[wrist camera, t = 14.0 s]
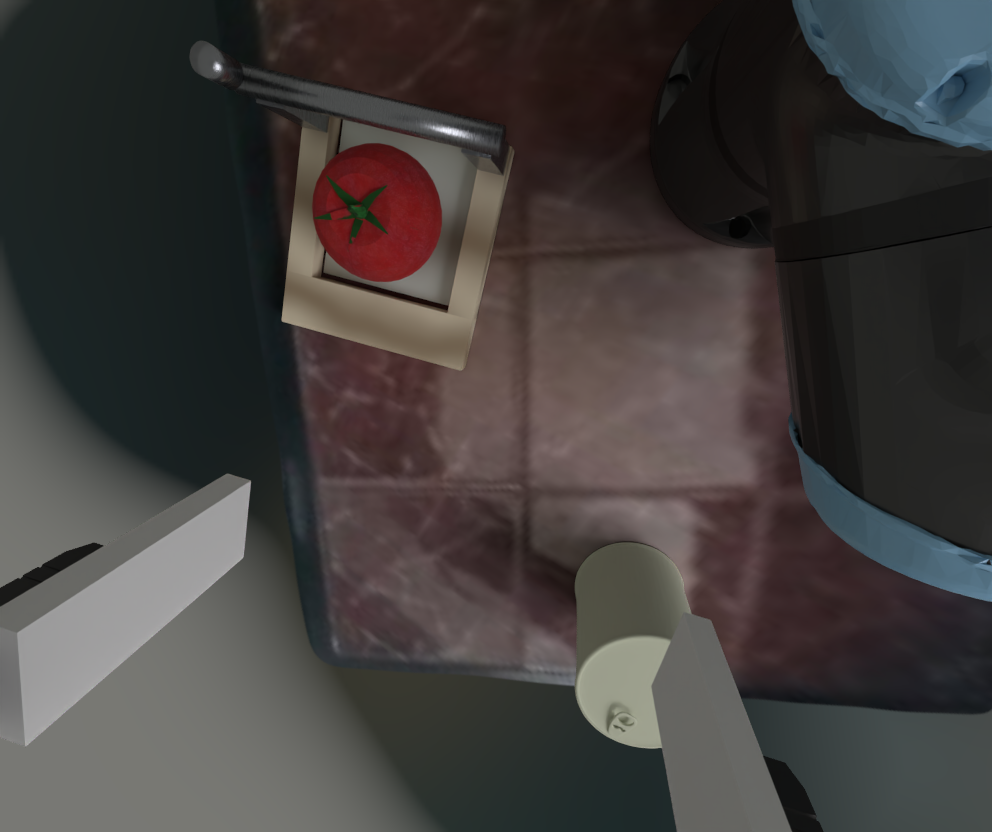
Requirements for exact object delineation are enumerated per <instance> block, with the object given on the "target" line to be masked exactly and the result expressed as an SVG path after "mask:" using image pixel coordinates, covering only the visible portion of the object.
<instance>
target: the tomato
mask: <svg viewBox="0 0 992 832" xmlns="http://www.w3.org/2000/svg"><path fill="white" fill-rule="evenodd" d="M312 213H313V221H314V225H315V229H316V233H317V235H318V237H319V239H320V242H321V244H322V245H323V247H324V248H325V250H326V251H327V253H328V254H329V255H330V257H331V258H332V259H333V260H334V261H335V262H336V263H337V264H339V265H340V266H341V267H342V268H344V269H345V270H347V271H348V272H349V273H351V274H353V275H355V276H357V277H359V278H362V279H365V280H369V281H374V282H392V281H397V280H401V279H403V278H405V277H408V276H410V275H412V274H413V273H414V272H416V271H417V270H419V269H420V268H421V267H422V266H423V265H424V264H425V263H426V262H427V260H428V259H429V258H430V256H431V255H432V253H433V251H434V250H435V248H436V246H437V243H438V240H439V237H440V233H441V227H442V208H441V203H440V198H439V194H438V191H437V189H436V186H435V184H434V182H433V180H432V178H431V177H430V175H429V173H428V172H427V170H426V169H425V168H424V167H423V166H422V165H421V164H420V163H419V162H418V160H416V159H415V158H413V157H412V156H411V155H409V154H408V153H407V152H404V151H402V150H400V149H398V148H396V147H393V146H391V145H386V144H381V143H366V144H362V145H358V146H354V147H350V148H348V149H346V150H344V151H342V152H340V153H338V154H337V155H336V156H335V157H334V158H332V159H331V160H330V161H329V162H328V164H327V165H326V166H325V168H324V169H323V170H322V172H321V174H320V176H319V178H318V180H317V182H316V186H315V189H314V193H313V202H312Z"/></svg>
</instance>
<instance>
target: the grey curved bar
mask: <svg viewBox="0 0 992 832" xmlns="http://www.w3.org/2000/svg"><path fill="white" fill-rule="evenodd" d="M190 62H191V65H192V67H193V69H194V70H195V71H196V72H197V73H198V74H200V75H202V76H204V77H206V78H208V79H210V80H212V81H213V82H215V83H217V84H219V85H221V86H223V87H225V88H227V89H229V90H235V92H236V93H237V94H239V95H243V96H248V97H252V98H256V103H258V104H260V105H262V106H264V107H265V108H267V109H269V110H271V111H273V112H275V113H277V114H279V115H281V116H283V117H285V118H287V119H289V120H291V121H292V122H294V123H296V124H298V125H300V126H302V127H305V128H309V129H313V130H317V131H321V132H325V133H327V131H328V122H329V116H331V117H335V118H339V119H343V120H347V121H351V122H355V123H360V124H364V125H368V126H372V127H376V128H380V129H384V130H389V131H393V132H397V133H401V134H405V135H409V136H413V137H418V138H422V139H426V140H430V141H434V142H438V143H442V144H447V145H451V146H455V147H459V148H462V150H461V153H462V154H463V155H464V156H465V157H466V158H467V159H468V160H469V161H470V162H471V163H472V164H473V165H474V166H475V167H476V168H477V169H478V170H481V171H485V172H489V173H493V174H497V175H501V176H504V172H505V168H506V163H507V159H508V155H509V150H510V147H509V145H508V143H507V141H506V139H505V137H506V126H505V125H501V124H497V123H493V122H489V121H484V120H480V119H476V118H472V117H467V116H463V115H459V114H455V113H450V112H446V111H442V110H438V109H433V108H429V107H425V106H421V105H417V104H412V103H408V102H404V101H400V100H395V99H391V98H387V97H383V96H378V95H374V94H370V93H366V92H361V91H357V90H353V89H349V88H344V87H340V86H336V85H332V84H328V83H323V82H319V81H315V80H311V79H306V78H302V77H298V76H294V75H289V74H285V73H281V72H277V71H272V70H268V69H264V68H260V67H255V66H251V65H247V64H243V63H239V62H238V61H237V60H236V59H234V58H232V57H231V56H229V55H227V54H226V53H224V52H223V51H221V50H219V49H218V48H216V47H214V46H213V45H211V44H209V43H208V42H205V41H198V42H196V43H195V44H194V45H193V46H192V48H191V50H190Z"/></svg>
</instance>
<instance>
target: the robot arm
mask: <svg viewBox="0 0 992 832" xmlns="http://www.w3.org/2000/svg"><path fill="white" fill-rule="evenodd" d="M650 155H651V162H652V167H653V171H654V175H655V178H656V181H657V184H658V186H659V189H660V191H661V193H662V195H663V197H664V199H665V200H666V202H667V204H668V205H669V207H670V208H671V209H672V211H673V212H674V213H675V214H676V215H677V217H678V218H679V219H680V220H681V221H682V222H683V223H685V224H686V225H687V226H688V227H689V228H691V229H692V230H694V231H695V232H696V233H698V234H700V235H702V236H703V237H705V238H707V239H710V240H712V241H715V242H717V243H720V244H724V245H727V246H732V247H739V248H767V247H774V248H775V256H776V260H775V268H776V277H777V286H778V295H779V304H780V313H781V322H782V331H783V340H784V349H785V358H786V367H787V376H788V385H789V394H790V403H791V414H790V416H789V419H788V421H789V432H790V435H791V439H792V442H793V444H794V446H795V447H796V449H797V451H798V455H799V461H800V467H801V473H802V479H803V485H804V489H805V492H806V495H807V497H808V499H809V501H810V503H811V504H812V506H813V507H814V508H815V509H816V511H817V512H818V514H819V515H820V517H821V519H822V520H823V521H824V522H825V523H826V524H827V526H828V527H829V528H830V529H831V530H832V531H833V532H834V533H836V534H837V535H838V536H839V537H840V538H842V539H843V540H844V541H845V542H847V543H848V544H849V545H851V546H852V547H853V548H855V549H856V550H858V551H860V552H861V553H863V554H864V555H866V556H868V557H869V558H871V559H873V560H875V561H877V562H879V563H880V564H882V565H884V566H886V567H888V568H891V569H893V570H895V571H897V572H900V573H902V574H904V575H907V576H909V577H911V578H914V579H917V580H919V581H922V582H924V583H927V584H930V585H933V586H935V587H938V588H941V589H945V590H948V591H951V592H954V593H958V594H962V595H965V596H969V597H973V598H977V599H981V600H986V601H991V602H992V0H723V1H722V2H721V3H720V4H718V5H717V6H716V7H715V8H714V9H713V10H712V11H711V12H710V13H708V14H707V15H706V16H705V17H704V19H703V20H702V21H701V22H700V23H699V24H698V25H697V26H696V27H695V28H694V30H693V31H692V32H691V33H690V35H689V36H688V37H687V39H686V40H685V41H684V43H683V44H682V46H681V47H680V49H679V51H678V52H677V54H676V56H675V57H674V59H673V61H672V63H671V65H670V67H669V69H668V71H667V74H666V76H665V78H664V80H663V82H662V85H661V87H660V90H659V92H658V95H657V98H656V101H655V105H654V109H653V114H652V119H651V127H650ZM250 484H251V481H250V480H247V479H243V478H240V477H237V476H234V475H230V474H226V475H224V476H222V477H221V478H219V479H218V480H216V481H214V482H212V483H211V484H209V485H207V486H206V487H204V488H202V489H200V490H199V491H197V492H195V493H193V494H192V495H190V496H188V497H187V498H185V499H183V500H182V501H180V502H178V503H176V504H175V505H173V506H172V507H170V508H168V509H166V510H165V511H163V512H161V513H159V514H158V515H156V516H154V517H153V518H151V519H149V520H147V521H146V522H144V523H142V524H141V525H139V526H137V527H136V528H134V529H132V530H130V531H129V532H127V533H125V534H124V535H122V536H120V537H119V538H117V539H115V540H113V541H112V542H110V543H108V544H107V545H105V546H103V545H100V544H97V543H91V544H88V545H85V546H82V547H79V548H75V549H72V550H69V551H66V552H64V553H62V554H61V555H59V556H57V557H55V558H54V559H52V560H50V561H48V562H46V563H44V564H43V565H42V567H41V568H39V567H37V568H35V569H33V570H32V571H30V572H28V573H26V574H24V575H23V577H22V578H21V579H19V578H17V579H15V580H14V581H12V582H10V583H8V584H6V585H5V586H3V587H1V588H0V738H2V739H5V740H8V741H11V742H14V743H16V744H19V745H22V746H27V745H28V744H29V743H30V742H31V741H33V740H34V739H35V738H36V737H37V736H38V735H39V734H41V733H42V732H43V731H44V730H45V729H46V728H48V727H49V726H50V725H51V724H52V723H53V722H54V721H55V720H57V719H58V718H59V717H60V716H61V715H62V714H64V712H66V711H67V710H68V709H69V708H71V707H72V706H73V705H74V704H75V703H76V702H77V701H79V700H80V699H81V698H82V697H83V696H84V695H85V694H87V693H88V692H89V691H90V690H91V689H92V688H94V687H95V686H96V685H97V684H98V683H99V682H101V681H102V680H103V679H104V678H105V677H106V676H107V675H108V674H110V673H111V672H112V671H113V670H114V669H116V668H117V667H118V666H119V665H120V664H121V663H122V662H124V661H125V660H126V659H127V658H128V657H129V656H131V654H133V653H134V652H135V651H136V650H137V649H139V648H140V647H141V646H142V645H143V644H144V643H146V642H147V641H148V640H149V639H150V638H151V637H152V636H154V635H155V634H156V633H157V632H158V631H159V630H160V629H162V628H163V627H164V626H165V625H166V624H167V623H168V622H170V621H171V620H172V619H173V618H174V617H176V616H177V615H178V614H179V613H180V612H181V611H182V610H184V609H185V608H186V607H187V606H188V605H189V604H190V603H191V602H193V601H194V600H195V599H196V598H197V597H199V596H200V595H201V594H202V593H203V592H204V591H205V590H207V589H208V588H209V587H210V586H211V585H212V584H214V583H215V582H216V581H217V580H218V579H219V578H220V577H222V576H223V575H224V574H225V573H226V572H227V571H229V570H230V569H231V568H232V567H233V566H234V565H235V564H237V563H238V562H239V561H240V560H241V559H242V558H243V557H244V547H245V535H246V526H247V516H248V505H249V494H250ZM651 688H652V694H653V699H654V705H655V711H656V716H657V722H658V727H659V733H660V738H661V744H662V749H663V755H664V761H665V766H666V771H667V778H668V783H669V789H670V794H671V799H672V806H673V811H674V817H675V822H676V827H677V832H823V830H822V827H821V825H820V823H819V822H818V821H817V820H816V814H815V811H814V809H813V807H812V805H811V802H810V800H809V798H808V796H807V793H806V791H805V789H804V787H803V786H802V785H801V784H800V782H799V781H798V780H797V778H796V777H795V776H794V774H793V773H792V771H791V770H790V769H789V767H788V766H787V765H786V763H784V762H781V761H778V760H775V759H772V758H768V757H765V756H763V755H762V753H761V750H760V747H759V745H758V742H757V739H756V737H755V735H754V732H753V729H752V726H751V724H750V721H749V719H748V716H747V713H746V711H745V708H744V705H743V703H742V700H741V698H740V695H739V692H738V690H737V687H736V685H735V682H734V679H733V677H732V674H731V672H730V669H729V666H728V664H727V661H726V658H725V656H724V653H723V651H722V648H721V645H720V643H719V640H718V638H717V635H716V632H715V630H714V627H713V624H712V622H711V620H709V619H706V618H702V617H699V616H696V615H692V614H689V613H686V612H683V615H682V617H681V619H680V621H679V624H678V626H677V628H676V631H675V633H674V635H673V637H672V640H671V642H670V644H669V647H668V649H667V651H666V654H665V656H664V658H663V660H662V663H661V665H660V667H659V670H658V672H657V674H656V676H655V679H654V681H653V683H652V686H651Z"/></svg>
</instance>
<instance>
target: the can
mask: <svg viewBox="0 0 992 832" xmlns="http://www.w3.org/2000/svg"><path fill="white" fill-rule="evenodd" d="M575 595H576V600H577V666H576V679H575V694H576V699H577V702H578V705H579V707H580V709H581V711H582V713H583V714H584V716H585V717H586V719H587V720H588V721H589V722H590V723H591V724H592V725H593V726H594V727H595V728H596V729H597V730H599V731H600V732H601V733H602V734H604V735H605V736H607V737H609V738H611V739H613V740H615V741H617V742H620V743H623V744H626V745H630V746H634V747H640V748H662V744H661V738H660V733H659V727H658V722H657V716H656V711H655V705H654V699H653V694H652V688H651V686H652V683H653V681H654V679H655V676H656V674H657V672H658V670H659V667H660V665H661V663H662V660H663V658H664V656H665V654H666V651H667V649H668V647H669V644H670V642H671V640H672V637H673V635H674V633H675V631H676V628H677V626H678V624H679V621H680V619H681V617H682V615H683V612H686V613H689V614H691V611H690V608H689V604H688V601H687V598H686V595H685V592H684V584H683V580H682V577H681V574H680V572H679V570H678V568H677V567H676V565H675V564H674V563H673V562H672V561H671V560H670V559H669V558H668V557H667V556H666V555H665V554H663V553H662V552H660V551H659V550H657V549H655V548H653V547H650V546H648V545H645V544H640V543H634V542H621V543H614V544H611V545H607V546H605V547H602V548H600V549H598V550H597V551H595V552H593V553H592V554H591V555H590V556H589V557H587V558H586V560H585V561H584V562H583V563H582V565H581V566H580V568H579V570H578V572H577V575H576V579H575Z"/></svg>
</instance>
